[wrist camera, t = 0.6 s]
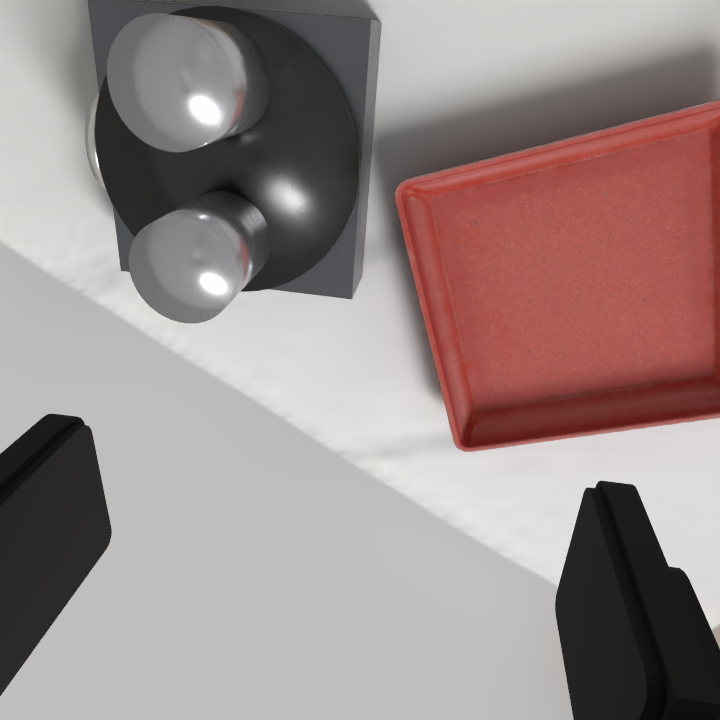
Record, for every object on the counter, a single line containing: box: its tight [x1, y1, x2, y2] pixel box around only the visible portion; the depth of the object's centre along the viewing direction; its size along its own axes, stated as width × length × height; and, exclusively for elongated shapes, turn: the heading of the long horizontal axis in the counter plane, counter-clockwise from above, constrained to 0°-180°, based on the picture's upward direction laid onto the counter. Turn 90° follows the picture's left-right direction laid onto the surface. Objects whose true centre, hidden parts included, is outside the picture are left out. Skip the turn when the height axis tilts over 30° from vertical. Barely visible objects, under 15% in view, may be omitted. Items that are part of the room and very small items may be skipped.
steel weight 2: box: [129, 191, 271, 323], centre depth 30 cm, size 5×5×6 cm
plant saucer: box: [395, 99, 720, 452], centre depth 35 cm, size 18×18×3 cm
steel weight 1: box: [107, 13, 271, 152], centre depth 26 cm, size 5×5×6 cm
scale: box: [85, 0, 381, 299], centre depth 33 cm, size 14×15×6 cm
